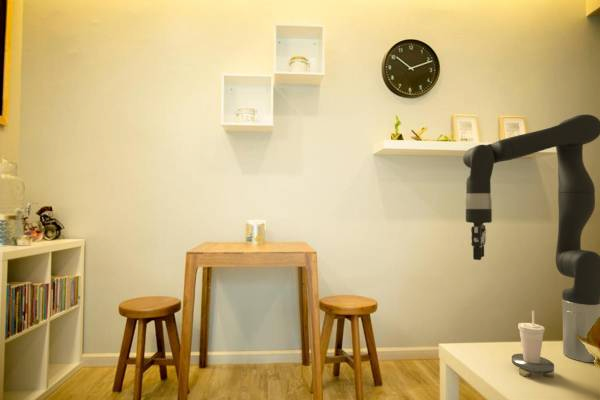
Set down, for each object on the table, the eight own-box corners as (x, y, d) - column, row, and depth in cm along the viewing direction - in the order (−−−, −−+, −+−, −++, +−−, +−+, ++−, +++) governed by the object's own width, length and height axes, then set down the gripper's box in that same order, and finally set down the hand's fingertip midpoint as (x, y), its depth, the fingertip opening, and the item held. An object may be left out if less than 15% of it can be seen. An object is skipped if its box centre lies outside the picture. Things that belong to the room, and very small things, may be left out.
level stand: (512, 361, 106) (512, 350, 106) (553, 369, 101) (553, 358, 101) (511, 374, 98) (511, 363, 98) (555, 384, 92) (555, 372, 93)
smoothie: (549, 366, 96) (549, 314, 96) (523, 364, 97) (523, 313, 97) (538, 356, 102) (538, 308, 102) (514, 354, 103) (514, 306, 104)
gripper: (489, 207, 106) (490, 262, 106) (493, 207, 118) (493, 256, 118) (462, 207, 110) (462, 259, 110) (468, 207, 122) (469, 255, 122)
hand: (478, 258), depth 114 cm, fingers open, 8 cm apart
